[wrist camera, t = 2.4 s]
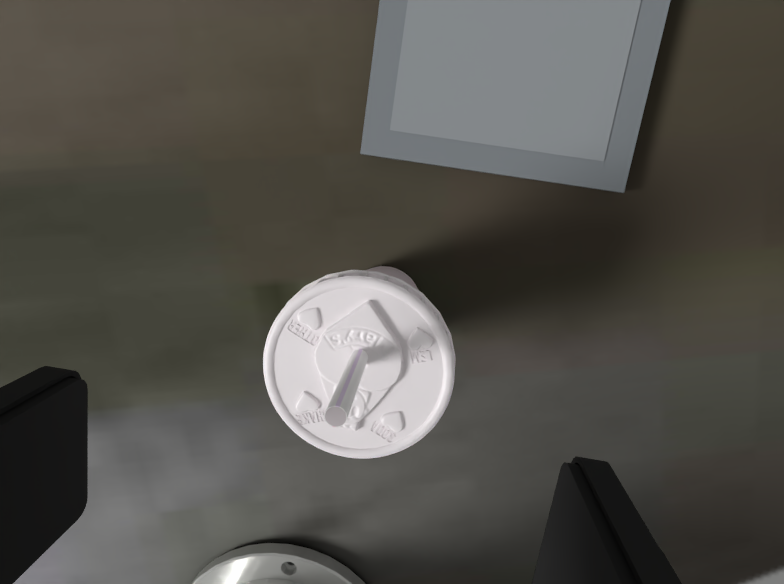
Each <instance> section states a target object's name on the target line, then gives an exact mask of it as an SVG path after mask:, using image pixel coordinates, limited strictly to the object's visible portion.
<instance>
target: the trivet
mask: <svg viewBox="0 0 784 584" xmlns="http://www.w3.org/2000/svg"><path fill="white" fill-rule="evenodd" d="M670 1H671V0H380V3H379V11H378V19H377V27H376V35H375V42H374V50H373V58H372V66H371V74H370V82H369V90H368V97H367V105H366V113H365V121H364V129H363V137H362V144H361V152H360V154H362V155H368V156H375V157H382V158H389V159H395V160H402V161H409V162H416V163H422V164H429V165H436V166H443V167H449V168H456V169H463V170H469V171H476V172H483V173H490V174H496V175H503V176H510V177H517V178H523V179H530V180H537V181H544V182H550V183H557V184H564V185H571V186H577V187H584V188H591V189H598V190H604V191H611V192H619V193H624V190H625V186H626V182H627V178H628V174H629V170H630V166H631V162H632V158H633V153H634V149H635V145H636V141H637V137H638V133H639V129H640V125H641V120H642V116H643V112H644V108H645V104H646V100H647V96H648V92H649V87H650V83H651V79H652V75H653V71H654V67H655V63H656V59H657V54H658V50H659V46H660V42H661V38H662V34H663V30H664V26H665V21H666V17H667V13H668V9H669V5H670Z"/></svg>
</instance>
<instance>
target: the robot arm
mask: <svg viewBox="0 0 784 584" xmlns="http://www.w3.org/2000/svg"><path fill="white" fill-rule="evenodd" d="M87 407H88V389H87V384H86V382H85V381H84V380H81V377H80V375H79V373H78V372H76V371H72V370H67V369H61V368H55V367H49V366H44V367H41V368H39V369H37V370H35V371H33V372H31V373H29V374H27V375H25V376H23V377H21V378H19V379H17V380H15V381H13V382H11V383H9V384H7V385H5V386H3V387H1V388H0V584H13V583H14V582H15V581H16V580H17V579H18V578H19V577H20V576H21V575H22V574H23V573H24V572H25V571H26V570H27V569H28V568H29V567H30V566H31V565H32V564H33V563H34V562H35V561H36V560H37V559H38V558H39V557H40V556H41V555H42V554H43V553H44V552H45V551H46V550H47V549H48V548H49V547H50V546H51V545H52V544H53V543H54V542H55V541H56V540H57V539H58V538H59V537H60V536H61V535H62V534H64V533H65V532H66V531H67V530H68V529H69V528H70V527H71V526H72V525H73V524H74V523H75V522H76V521H77V520H78V519H79V517H80V516H81V515H82V513H83V511H84V509H85V507H86V503H87ZM191 584H365V583H364V582H363V581H362V580H361V579H360V578H359V577H358V576H357V575H356V574H354V573H353V572H352V571H351V570H350V569H349V568H348V567H346V566H344V565H343V564H341V563H339V562H338V561H336V560H334V559H333V558H331V557H330V556H327V555H325V554H322V553H320V552H317V551H315V550H312V549H309V548H305V547H300V546H296V545H291V544H280V543H263V544H255V545H248V546H245V547H241V548H238V549H235V550H232V551H229V552H227V553H225V554H224V555H222V556H220V557H218V558H216V559H214V560H213V561H212V562H211V563H209V564H208V565H207V566H206V567H205V568H203V569H202V570H201V571H200V572H199V574H198V575H197V576H196V578H195V579H194V580H193V582H192V583H191ZM532 584H682V583H681V582H680V580H679V578H678V577H677V575H676V573H675V572H674V570H673V568H672V567H671V565H670V563H669V562H668V560H667V558H666V557H665V555H664V553H663V552H662V551H661V549H660V548H659V547H658V545H657V544H656V542H655V540H654V539H653V537H652V535H651V533H650V532H649V530H648V528H647V527H646V525H645V523H644V522H643V520H642V518H641V517H640V515H639V513H638V512H637V510H636V508H635V506H634V505H633V503H632V501H631V500H630V498H629V496H628V495H627V493H626V491H625V490H624V488H623V486H622V485H621V483H620V481H619V479H618V478H617V476H616V474H615V473H614V471H613V469H612V468H611V466H610V464H609V463H608V462H605V461H600V460H594V459H588V458H582V457H575V458H574V459H573V461H572V462H571V463H563V465H562V467H561V470H560V473H559V477H558V481H557V485H556V489H555V493H554V497H553V501H552V505H551V509H550V513H549V517H548V521H547V525H546V529H545V533H544V537H543V541H542V545H541V549H540V553H539V557H538V561H537V565H536V569H535V573H534V577H533V581H532Z"/></svg>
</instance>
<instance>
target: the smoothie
mask: <svg viewBox="0 0 784 584" xmlns="http://www.w3.org/2000/svg"><path fill="white" fill-rule="evenodd" d="M455 359H456V357H455V352H454V347H453V342H452V337H451V333H450V331H449V329H448V327H447V325H446V323H445V321H444V319H443V317H442V316H441V314H440V312H439V311H438V310H437V308H436V307H435V306H434V305H433V304H432V303H431V302H430V301H429V300H428V298H427V297H426V296H425V295H424V294H423V293H422V292H420V291H419V290H418V288H417V286H416V284H415V283H414V281H413V280H412V279H411V278H410V277H409V276H408V275H407V274H406V273H404V272H403V271H401V270H399V269H396V268H393V267H388V266H378V267H373V268H370V269H368V270H365V271H363V270H348V271H343V272H338V273H333V274H328V275H326V276H324V277H322V278H320V279H318V280H316V281H314V282H312V283H310V284H308V285H306V286H304V287H303V288H302V289H301V290H300V291H299V292H298V293H297V294H296V295H295V296H294V297H292V298H291V299H290V300H289V301H288V302H287V304H286V305H285V307H284V308H283V309H282V310H281V312H280V313H279V315H278V316H277V317H276V319H275V321H274V323H273V324H272V326H271V329H270V331H269V333H268V336H267V340H266V343H265V348H264V355H263V372H264V379H265V384H266V388H267V391H268V394H269V397H270V399H271V401H272V403H273V405H274V407H275V409H276V411H277V412H278V414H279V415H280V416H281V418H282V419H283V420H284V422H285V423H286V424H287V425H288V426H289V427H290V428H291V429H292V430H293V431H294V432H295V433H296V434H297V435H298V436H300V437H301V438H302V439H304V440H305V441H307V442H308V443H310V444H311V445H313V446H315V447H317V448H319V449H321V450H323V451H326V452H329V453H332V454H335V455H339V456H343V457H349V458H377V457H382V456H387V455H390V454H394V453H397V452H399V451H402V450H404V449H406V448H408V447H410V446H412V445H413V444H415V443H416V442H418V441H419V440H420V439H422V438H423V437H424V436H425V435H426V434H427V433H429V432H430V431H431V430H432V428H433V427H434V426H435V425H436V424H437V422H438V421H439V420H440V418H441V417H442V415H443V413H444V411H445V409H446V407H447V405H448V403H449V400H450V397H451V394H452V390H453V384H454V374H455Z"/></svg>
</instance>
